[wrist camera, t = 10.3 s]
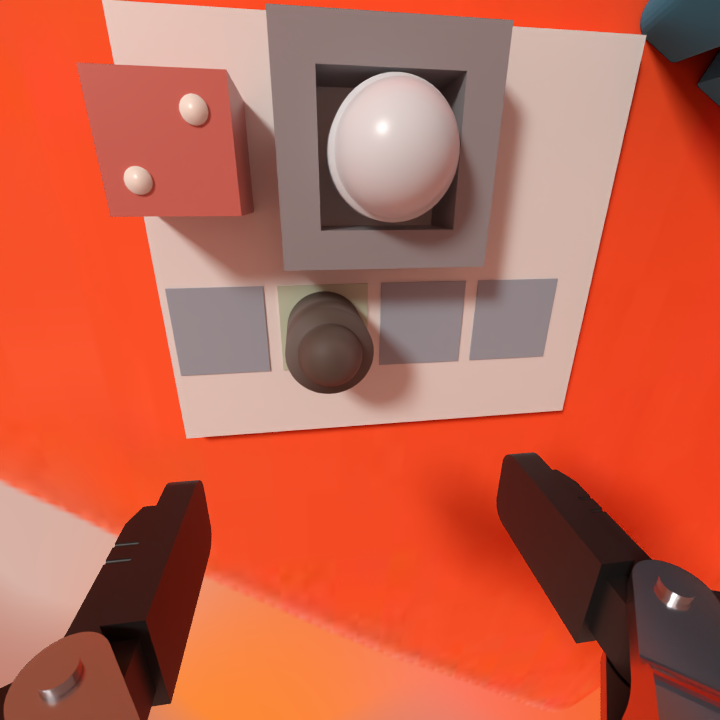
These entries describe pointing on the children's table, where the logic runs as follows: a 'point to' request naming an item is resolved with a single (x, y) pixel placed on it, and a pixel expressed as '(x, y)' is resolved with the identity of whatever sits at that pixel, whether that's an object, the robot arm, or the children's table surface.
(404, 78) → the dome
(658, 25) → the block
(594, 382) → the children's table surface
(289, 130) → the dome housing
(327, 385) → the pawn
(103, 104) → the die
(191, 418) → the game board
